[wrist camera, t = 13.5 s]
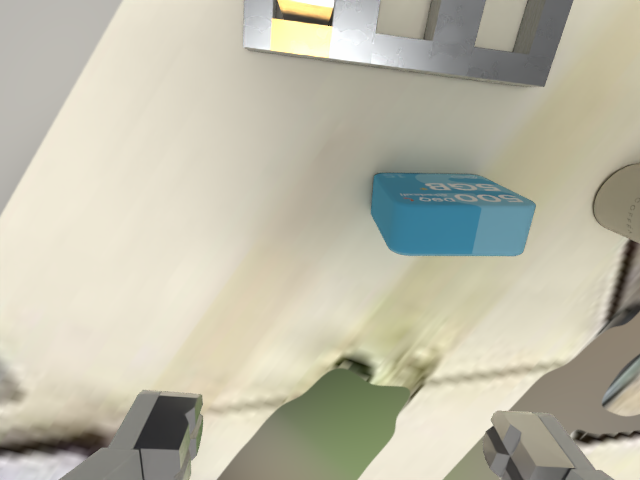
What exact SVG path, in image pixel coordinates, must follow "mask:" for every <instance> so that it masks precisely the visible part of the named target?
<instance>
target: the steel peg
mask: <svg viewBox="0 0 640 480" xmlns="http://www.w3.org/2000/svg"><path fill="white" fill-rule="evenodd" d="M277 1H278V4H279V6H280V9H281V12H282V15H283V18H284V20H287V21H294V22H302V23H309V24H316V25H323V26H328V23H329V20H330V17H331V14H332V10H333V6H334V0H277Z"/></svg>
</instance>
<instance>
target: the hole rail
mask: <svg viewBox="0 0 640 480" xmlns="http://www.w3.org/2000/svg"><path fill="white" fill-rule="evenodd" d="M485 1H486V0H432V1H431V6H430V11H429V16H428V21H427V26H426V31H425V36H424V40H421V39H414V38H406V37H399V36H392V35H385V34H378V33H375V32H376V25H377V19H378V12H379V6H380V0H334V6H333V12H332V22H331V27H330V26H323V25H316V24H309V23H302V22H294V21H287V20H280V19H276V3H277V0H244V35H243V47H244V48H246V49H247V50H250V51H257V52H265V53H272V54H280V55H288V56H295V57H303V58H310V59H318V60H326V61H333V62H341V63H348V64H356V65H364V66H371V67H379V68H386V69H394V70H401V71H409V72H417V73H424V74H432V75H439V76H447V77H455V78H462V79H470V80H477V81H485V82H493V83H500V84H508V85H515V86H523V87H544V86H545V83H546V80H547V77H548V74H549V71H550V68H551V65H552V62H553V59H554V56H555V53H556V50H557V47H558V44H559V41H560V39H561V36H562V33H563V30H564V27H565V24H566V21H567V18H568V15H569V12H570V9H571V6H572V3H573V0H528V2H527V5H526V9H525V12H524V16H523V19H522V22H521V26H520V29H519V33H518V36H517V39H516V43H515V46H514V50H513V52H507V51H500V50H493V49H485V48H478V47H474V45H475V41H476V37H477V33H478V29H479V25H480V21H481V17H482V13H483V9H484V5H485Z"/></svg>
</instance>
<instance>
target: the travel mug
mask: <svg viewBox="0 0 640 480" xmlns="http://www.w3.org/2000/svg"><path fill="white" fill-rule="evenodd" d="M594 213H595V217H596V219H597V221H598V222H599V223H600V224H601V225H602V226H603V227H605V228H607V229H609V230H611V231H614V232H616V233H618V234H620V235H622V236H624V237H627V238H629V239H631V240H633V241H635V242H637V243H640V164H634V165H630V166H627V167H625V168H623V169H621V170H619V171H618V172H616V173H615V174H613V175H612V176H611V177H610V178H609V179H608V180H607V181H606V182H605V183H604V184H603V186H602V187H601V189H600V190H599V192H598V194H597V196H596V199H595V204H594Z"/></svg>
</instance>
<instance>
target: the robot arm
mask: <svg viewBox="0 0 640 480" xmlns="http://www.w3.org/2000/svg"><path fill="white" fill-rule="evenodd" d="M202 405H203V401H202V395H201V394H192V393H180V392H168V391H152V390H142V391H141V392H140V393H139V394H138V395H137V397H136V399H135V401H134V403H133V404H132V406H131V408H130V410H129V412H128V413H127V415H126V417H125V419H124V420H123V422H122V424H121V426H120V428H119V429H118V431H117V433H116V435H115V436H114V438H113V440H112V442H111V444H110V445H109V447H108V448H101V449H100V450H98V451H97V452H95V453H94V454H93V455H91V456H90V457H89V458H87V459H86V460H85V461H83V462H82V463H81V464H79V465H78V466H77V467H75V468H74V469H73V470H71V471H70V472H68V473H67V474H66V475H64V476H63V477H62V478H60V479H59V480H189V479H190V476H191V460H193V459H194V458H195V457H196V456H197V452H198V449H199V446H200V441H201V436H202V429H203V416H202V415H201V414H200V411H201V408H202ZM491 422H492V424H493V427H491V428H490V429H488V430H487V431H486V432H485V435H484V438H483V452H484V455H485V459H486V461H487V463H488V465H489V468H490V469H491V470H492V471H493V472H494V473H495V474H496V475H498V476H499V480H614V479H613V478H611V477H610V476H609V475H607V474H606V473H604V472H603V471H601V470H596V469H595V468H594V467H593V466H592V464H591V463H590V462H589V460H588V459H587V458H586V456H585V455H584V454H583V452H582V451H581V450H580V449H579V447H578V446H577V445H576V443H575V442H574V441H573V439H572V438H571V437H570V435H569V434H568V433H567V432H566V431H565V429H564V428H563V426H562V425H561V424H560V422H559V421H558V420H557V419H556V417H554V416H553V415H552V414H550V413H533V412H532V413H530V412H517V411H497V412H495V413H494V414H493V416H492V418H491Z"/></svg>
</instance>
